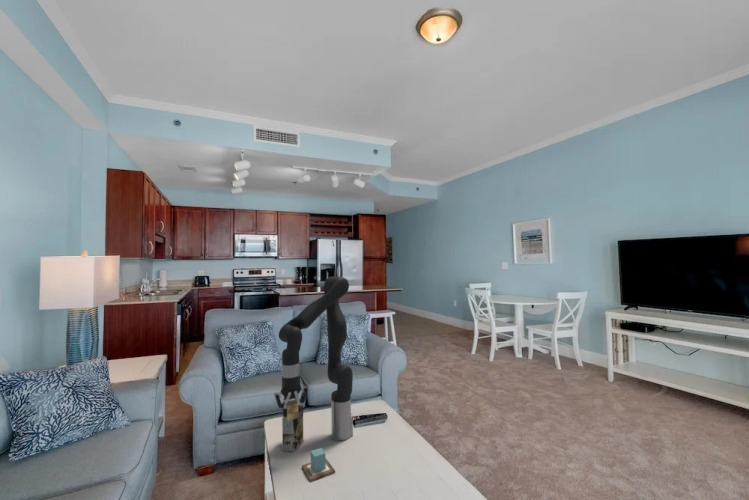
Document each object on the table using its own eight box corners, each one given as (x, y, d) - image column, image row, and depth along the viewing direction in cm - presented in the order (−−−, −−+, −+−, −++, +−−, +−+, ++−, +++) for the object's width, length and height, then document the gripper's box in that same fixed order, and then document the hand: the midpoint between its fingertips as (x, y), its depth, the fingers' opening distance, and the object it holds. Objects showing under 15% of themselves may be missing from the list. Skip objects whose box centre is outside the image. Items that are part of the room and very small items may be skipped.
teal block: (321, 462, 135) (321, 447, 135) (325, 468, 131) (325, 453, 131) (310, 466, 133) (310, 451, 133) (314, 472, 129) (314, 456, 129)
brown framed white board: (325, 460, 139) (325, 457, 139) (335, 473, 130) (335, 470, 130) (301, 468, 134) (301, 465, 134) (310, 482, 125) (310, 479, 125)
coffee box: (295, 452, 145) (295, 414, 145) (281, 450, 146) (281, 413, 147) (304, 440, 154) (303, 405, 154) (291, 439, 155) (290, 404, 156)
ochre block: (295, 413, 142) (294, 399, 142) (298, 418, 138) (298, 403, 139) (284, 416, 140) (284, 402, 140) (287, 420, 136) (287, 406, 136)
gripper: (276, 380, 133) (276, 423, 132) (310, 373, 140) (311, 414, 140) (271, 374, 139) (272, 416, 139) (304, 368, 147) (305, 407, 146)
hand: (291, 415), depth 139 cm, fingers closed on ochre block, 4 cm apart
